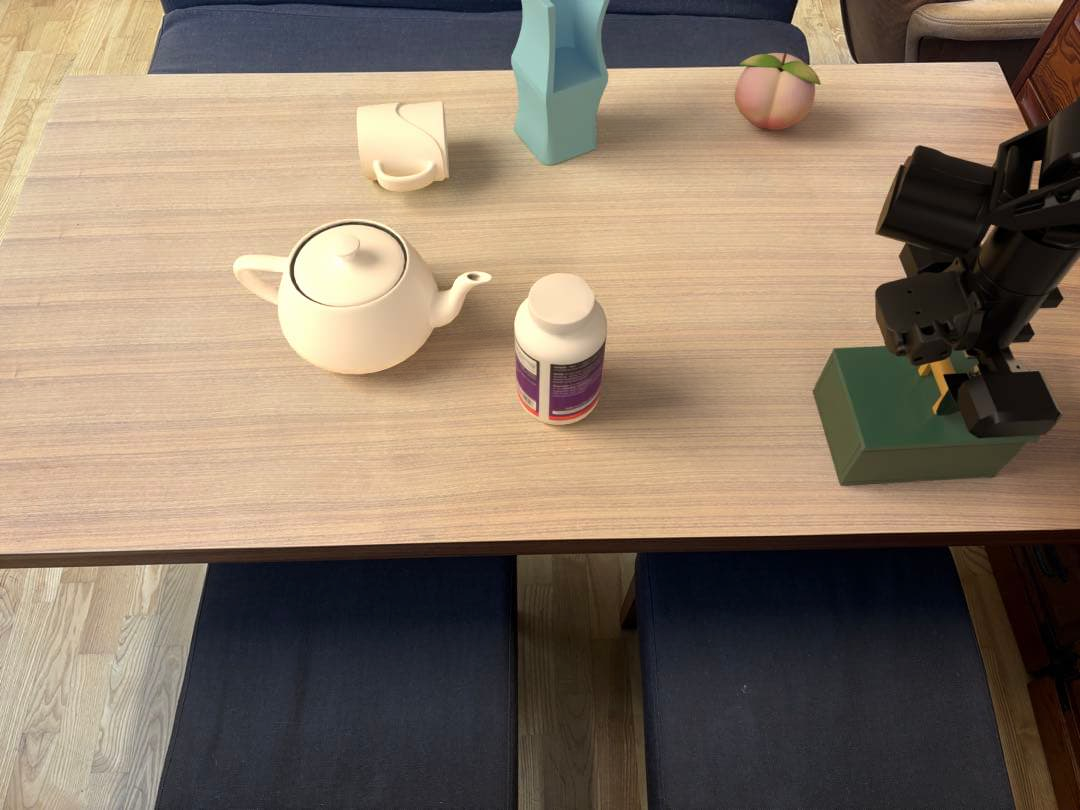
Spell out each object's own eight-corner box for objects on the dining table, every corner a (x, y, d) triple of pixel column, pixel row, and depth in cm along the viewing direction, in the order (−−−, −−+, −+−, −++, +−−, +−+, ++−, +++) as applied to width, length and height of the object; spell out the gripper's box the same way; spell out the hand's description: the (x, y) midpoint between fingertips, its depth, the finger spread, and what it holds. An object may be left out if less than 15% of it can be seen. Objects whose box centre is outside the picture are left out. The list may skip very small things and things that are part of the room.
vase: (544, 168, 99) (547, 8, 82) (512, 129, 103) (509, -32, 86) (602, 146, 101) (616, -14, 85) (568, 109, 105) (576, -52, 88)
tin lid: (993, 344, 78) (1017, 313, 74) (1037, 442, 72) (1065, 413, 69) (831, 352, 77) (846, 321, 73) (862, 451, 72) (881, 423, 68)
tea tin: (956, 383, 83) (985, 345, 78) (994, 477, 78) (1027, 442, 72) (812, 390, 82) (831, 353, 77) (839, 485, 77) (862, 451, 72)
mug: (368, 143, 101) (357, 86, 95) (447, 139, 102) (441, 82, 95) (367, 215, 95) (354, 159, 88) (451, 211, 95) (445, 154, 89)
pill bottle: (609, 373, 83) (623, 275, 71) (585, 439, 79) (595, 347, 67) (532, 351, 85) (532, 251, 73) (504, 415, 81) (499, 320, 68)
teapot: (229, 376, 83) (187, 294, 72) (277, 258, 91) (245, 170, 81) (482, 406, 81) (475, 326, 71) (507, 283, 90) (504, 196, 79)
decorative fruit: (806, 110, 105) (830, 37, 97) (800, 154, 101) (824, 81, 93) (731, 97, 107) (748, 24, 98) (721, 139, 102) (738, 66, 94)
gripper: (872, 179, 65) (815, 308, 78) (952, 378, 55) (871, 488, 68) (1012, 173, 66) (932, 303, 79) (1117, 369, 56) (1005, 481, 69)
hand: (932, 387), depth 74 cm, fingers closed on tin lid, 5 cm apart
